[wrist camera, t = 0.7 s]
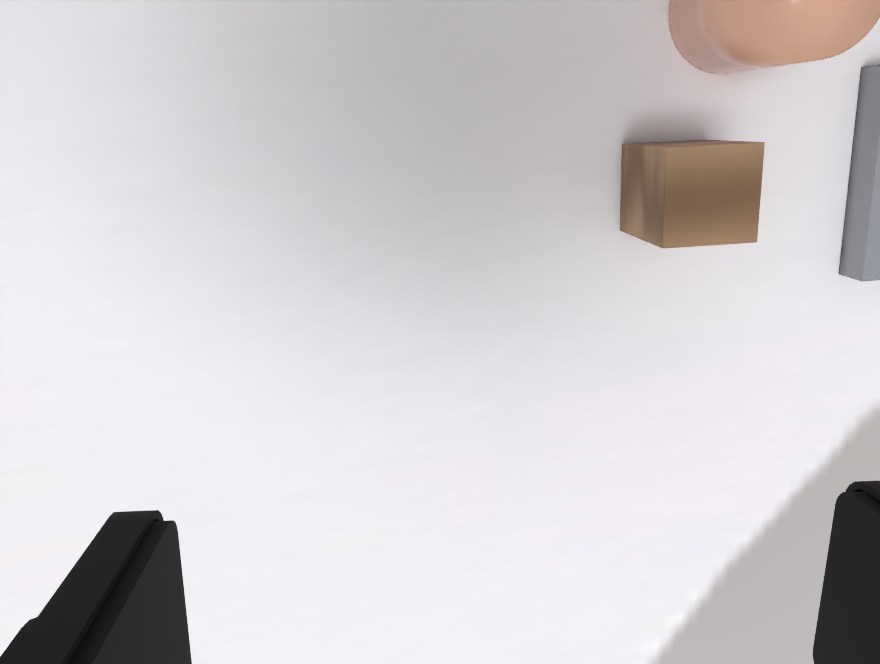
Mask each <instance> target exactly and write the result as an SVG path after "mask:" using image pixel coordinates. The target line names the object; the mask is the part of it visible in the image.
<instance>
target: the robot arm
mask: <svg viewBox="0 0 880 664" xmlns="http://www.w3.org/2000/svg"><path fill="white" fill-rule="evenodd" d="M813 659H814V664H880V481H862V482H854V483H852V484H851V485H849V487H848V488H847V489H846V492H843V493H842V494H840V495H839V496H838V498H837V501H836V504H835V511H834V517H833V524H832V531H831V537H830V544H829V550H828V556H827V563H826V569H825V576H824V582H823V588H822V595H821V602H820V608H819V614H818V621H817V628H816V634H815V641H814V647H813ZM0 664H192V662H191V653H190V643H189V634H188V624H187V615H186V605H185V596H184V587H183V577H182V568H181V558H180V549H179V539H178V531H177V526H176V523H175V522H174V521H163V517H162V515H161V513H160V512H159V511H158V510H156V511H131V512H114V513H113V514H112V515H111V516H110V517H109V518H108V519H107V521H106V522H105V524H104V525H103V526H102V528H101V529H100V531H99V532H98V533H97V535H96V536H95V538H94V539H93V540H92V542H91V543H90V545H89V546H88V547H87V549H86V550H85V552H84V553H83V554H82V556H81V557H80V559H79V560H78V561H77V563H76V564H75V566H74V567H73V568H72V570H71V571H70V573H69V574H68V575H67V577H66V578H65V579H64V581H63V582H62V584H61V585H60V586H59V588H58V589H57V591H56V592H55V593H54V595H53V596H52V598H51V599H50V600H49V602H48V603H47V605H46V606H45V607H44V609H43V610H42V612H41V613H40V614H39V616H38V617H36V618H34V619H31V620H29V621H28V622H27V623H26V624H25V625H24V626H23V627H22V628H21V630H20V631H19V632H18V634H17V635H16V636H15V638H14V639H13V640H12V642H11V643H10V645H9V646H8V647H7V649H6V650H5V651H4V653H3V654H2V655H1V657H0Z"/></svg>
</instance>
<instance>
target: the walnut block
mask: <svg viewBox="0 0 880 664" xmlns="http://www.w3.org/2000/svg"><path fill="white" fill-rule="evenodd" d="M763 156H764V142H744V141H720V140H693V141H674V142H655V143H636V144H622V159H621V204H620V230H621V231H623V232H625V233H628V234H630V235H632V236H635V237H637V238H640V239H642V240H644V241H647V242H649V243H652V244H654V245H656V246H659V247H661V248H676V247H691V246H706V245H722V244H737V243H753V242H757V234H758V221H759V208H760V195H761V182H762V169H763Z"/></svg>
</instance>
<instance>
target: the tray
mask: <svg viewBox="0 0 880 664" xmlns="http://www.w3.org/2000/svg"><path fill="white" fill-rule="evenodd" d="M839 274H841V275H844V276H847V277H850V278H853V279H856V280H860V281H873V280H880V65H878V66H869V67H861V76H860V86H859V95H858V104H857V113H856V122H855V131H854V140H853V150H852V159H851V168H850V177H849V186H848V195H847V204H846V214H845V223H844V232H843V241H842V250H841V259H840V268H839Z"/></svg>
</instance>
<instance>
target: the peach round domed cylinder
mask: <svg viewBox="0 0 880 664" xmlns="http://www.w3.org/2000/svg"><path fill="white" fill-rule="evenodd" d="M879 17H880V0H670V4H669V27H670V32H671V36H672V39H673V41H674V44H675V46H676V47H677V49H678V51H679V52H680V54H681V55H682V56H683V57H684V58H685V59H686V60H687V61H688V62H689V63H690V64H691V65H693V66H694V67H696V68H698V69H700V70H702V71H705V72H708V73H714V74H726V73H734V72H741V71H747V70H754V69H761V68H768V67H774V66H781V65H788V64H795V63H801V62H808V61H815V60H822V59H826V58H830V57H834V56H836V55H838V54H841V53H843V52H845V51H846V50H848V49H850V48H851V47H853V46H854V45H855V44H857V43H858V42H859V41H860V40H861V39H863V38H864V37H865V36H866V35H867V34H868V32H869V31H870V30H871V29H872V28H873V26H874V25H875V23H876V22H877V21H878V19H879Z"/></svg>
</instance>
